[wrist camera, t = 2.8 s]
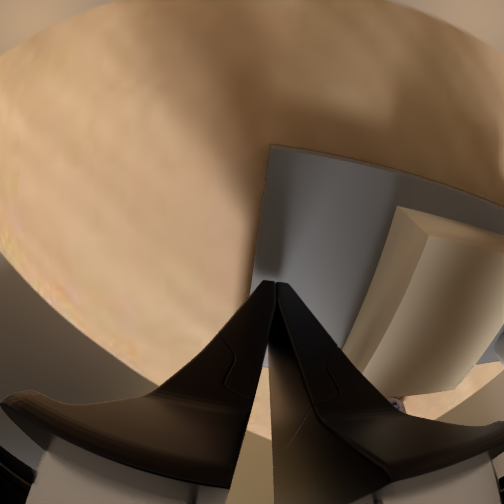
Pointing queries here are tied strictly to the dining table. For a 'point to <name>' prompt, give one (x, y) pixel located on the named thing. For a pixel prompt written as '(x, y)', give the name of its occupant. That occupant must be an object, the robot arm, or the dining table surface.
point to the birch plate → (429, 305)
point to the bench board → (346, 229)
